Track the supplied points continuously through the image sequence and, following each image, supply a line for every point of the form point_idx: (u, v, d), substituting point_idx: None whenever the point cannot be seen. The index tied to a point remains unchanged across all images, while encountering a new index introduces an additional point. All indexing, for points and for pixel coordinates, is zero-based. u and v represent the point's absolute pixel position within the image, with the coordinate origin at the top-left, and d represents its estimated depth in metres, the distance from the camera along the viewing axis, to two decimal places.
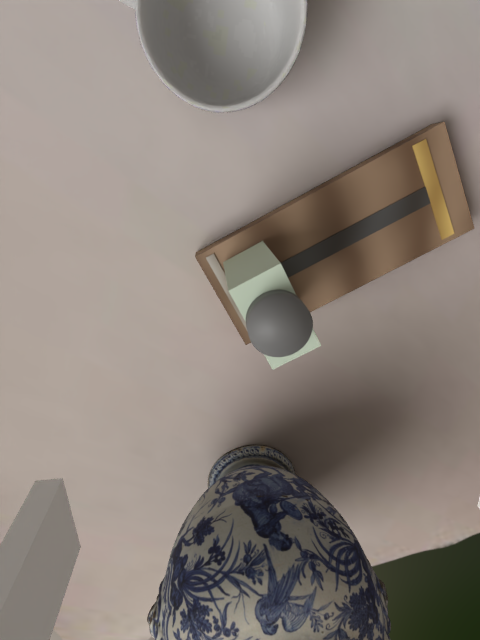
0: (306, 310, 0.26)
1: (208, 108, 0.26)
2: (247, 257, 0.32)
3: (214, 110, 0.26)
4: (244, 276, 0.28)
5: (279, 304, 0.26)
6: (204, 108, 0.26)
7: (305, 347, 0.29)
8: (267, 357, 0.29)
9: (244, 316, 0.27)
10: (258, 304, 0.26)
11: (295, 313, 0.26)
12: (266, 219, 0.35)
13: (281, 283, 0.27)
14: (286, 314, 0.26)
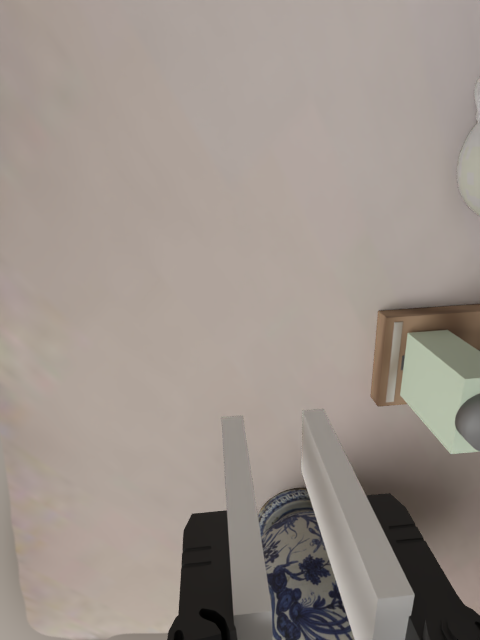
0: None
1: None
2: (446, 343, 0.35)
3: None
4: (472, 369, 0.31)
5: None
6: None
7: None
8: (454, 442, 0.32)
9: (461, 403, 0.30)
10: None
11: None
12: (458, 313, 0.38)
13: None
14: None
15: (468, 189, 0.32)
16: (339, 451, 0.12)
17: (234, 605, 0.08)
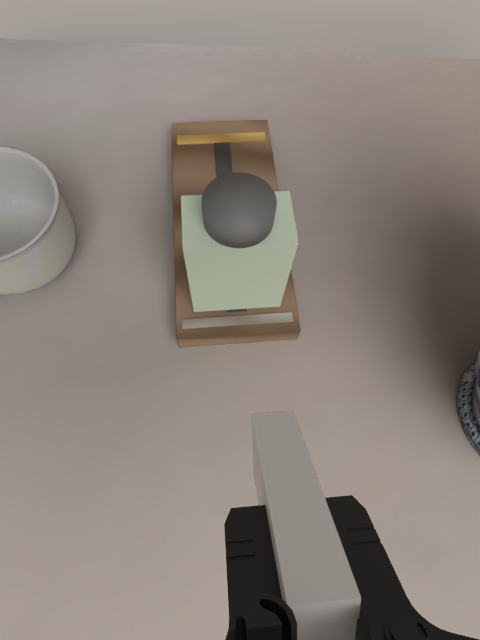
0: (232, 174, 0.24)
1: (37, 236, 0.28)
2: None
3: (41, 233, 0.28)
4: None
5: (212, 193, 0.23)
6: (35, 240, 0.28)
7: (285, 204, 0.25)
8: (280, 241, 0.24)
9: (219, 245, 0.23)
10: (203, 212, 0.23)
11: (230, 183, 0.23)
12: (175, 261, 0.34)
13: None
14: (226, 191, 0.23)
15: (24, 281, 0.31)
16: (304, 453, 0.12)
17: (287, 596, 0.08)
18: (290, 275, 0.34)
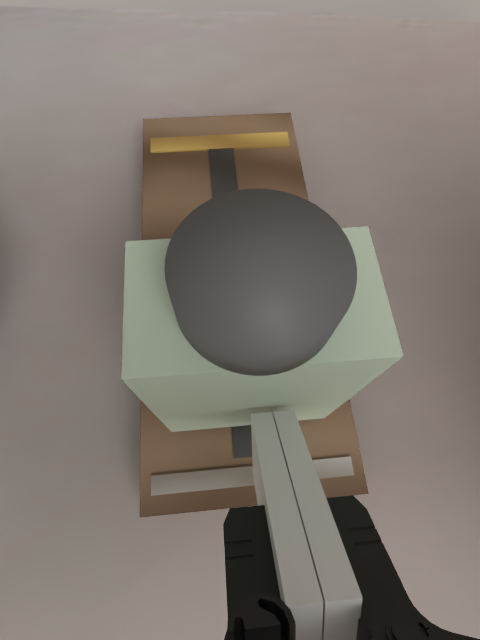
0: (241, 193, 0.10)
1: None
2: None
3: None
4: None
5: (193, 243, 0.09)
6: None
7: (361, 258, 0.11)
8: (359, 355, 0.10)
9: (212, 367, 0.10)
10: (169, 296, 0.09)
11: (237, 217, 0.09)
12: None
13: None
14: (229, 237, 0.09)
15: None
16: (305, 453, 0.12)
17: (286, 596, 0.08)
18: None
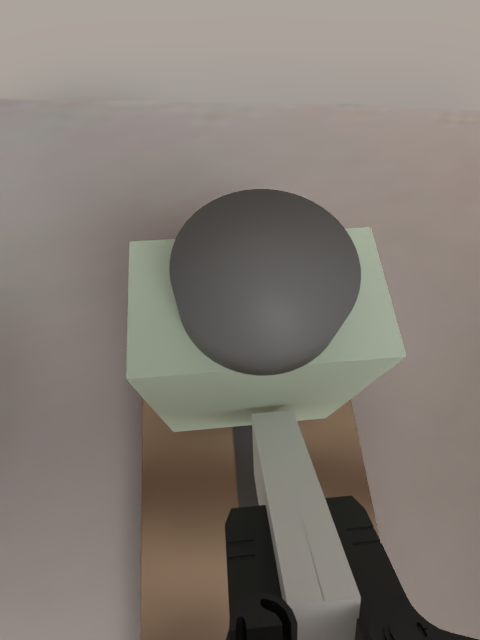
0: (245, 194, 0.10)
1: None
2: None
3: None
4: None
5: (197, 244, 0.09)
6: None
7: (364, 259, 0.11)
8: (362, 355, 0.10)
9: (216, 367, 0.10)
10: (174, 296, 0.09)
11: (241, 218, 0.10)
12: None
13: None
14: (233, 238, 0.09)
15: None
16: (303, 453, 0.12)
17: (287, 596, 0.08)
18: None
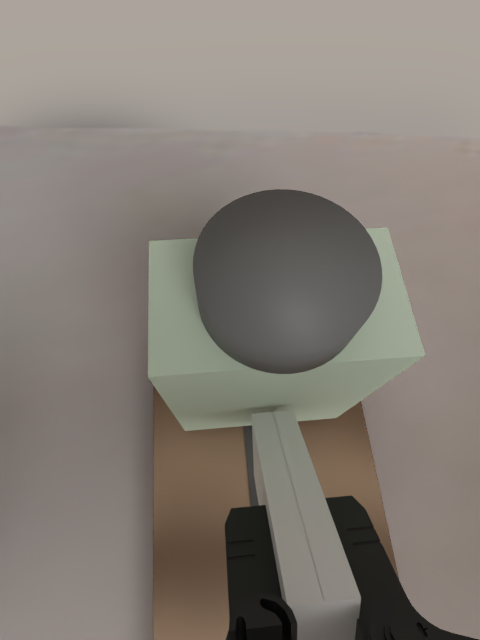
0: (266, 194, 0.10)
1: None
2: None
3: None
4: None
5: (220, 243, 0.09)
6: None
7: (381, 259, 0.11)
8: (381, 354, 0.10)
9: (236, 365, 0.10)
10: (197, 294, 0.09)
11: (262, 218, 0.10)
12: None
13: None
14: (255, 237, 0.09)
15: None
16: (303, 453, 0.12)
17: (287, 596, 0.08)
18: None
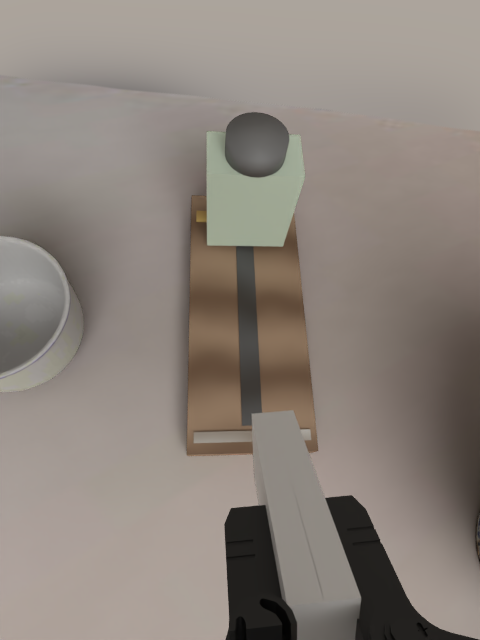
0: (252, 113, 0.28)
1: (44, 350, 0.26)
2: None
3: (49, 346, 0.26)
4: None
5: (235, 127, 0.27)
6: (41, 353, 0.26)
7: (295, 145, 0.29)
8: (289, 174, 0.28)
9: (237, 173, 0.27)
10: (226, 143, 0.27)
11: (250, 121, 0.27)
12: (189, 361, 0.32)
13: (224, 137, 0.29)
14: (247, 127, 0.27)
15: (26, 384, 0.28)
16: (304, 453, 0.12)
17: (287, 596, 0.08)
18: (310, 384, 0.32)
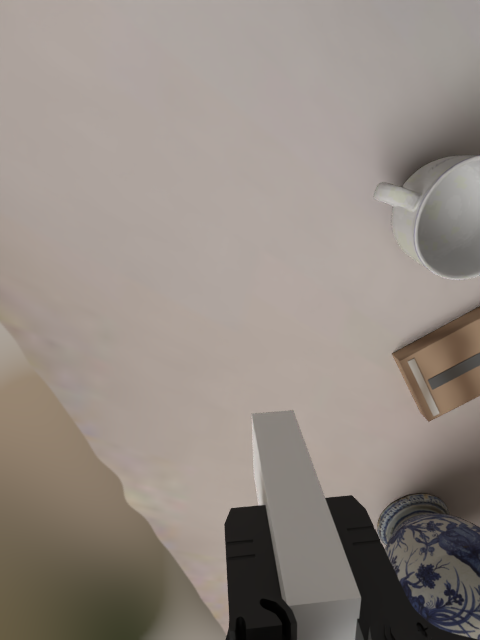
0: None
1: (453, 278, 0.36)
2: None
3: (456, 279, 0.36)
4: None
5: None
6: (450, 278, 0.36)
7: None
8: None
9: None
10: None
11: None
12: (456, 331, 0.44)
13: None
14: None
15: None
16: (304, 453, 0.12)
17: (287, 596, 0.08)
18: (466, 401, 0.48)
